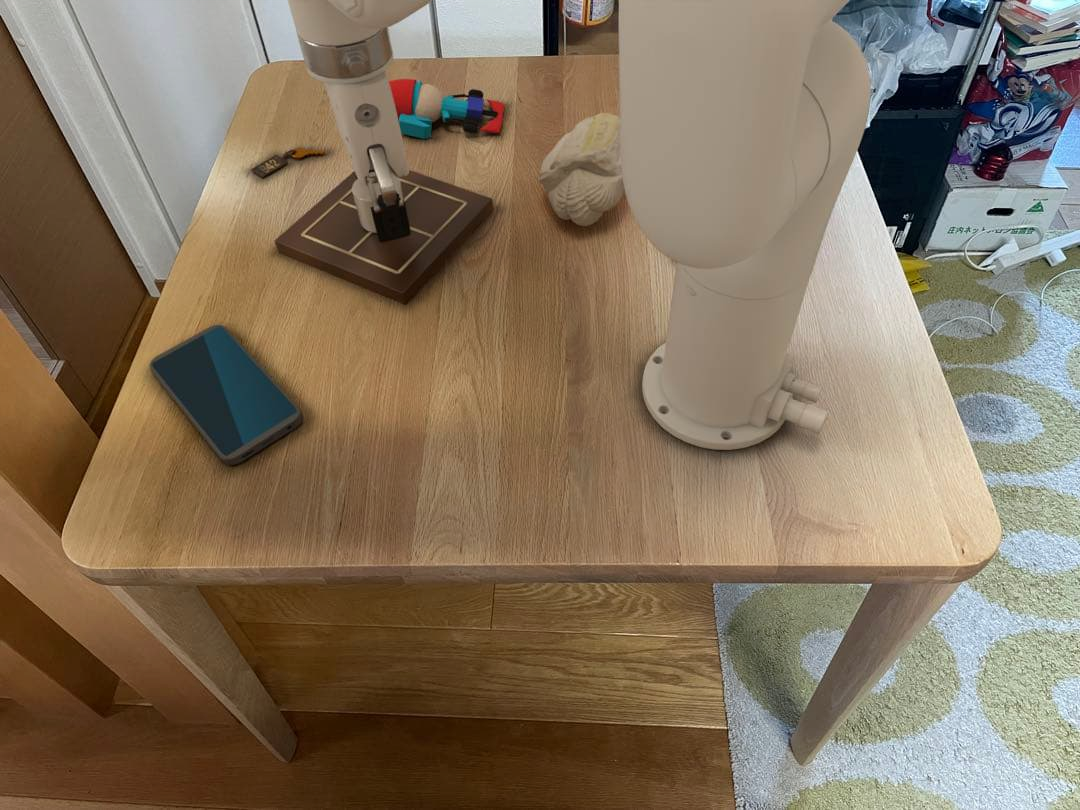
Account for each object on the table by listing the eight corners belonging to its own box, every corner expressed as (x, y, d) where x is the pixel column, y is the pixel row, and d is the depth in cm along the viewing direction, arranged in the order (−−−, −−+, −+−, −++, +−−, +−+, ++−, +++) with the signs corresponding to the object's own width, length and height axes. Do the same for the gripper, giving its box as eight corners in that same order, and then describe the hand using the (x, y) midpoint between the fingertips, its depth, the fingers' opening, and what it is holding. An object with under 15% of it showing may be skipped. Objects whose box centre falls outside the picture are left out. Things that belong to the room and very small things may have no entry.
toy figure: (503, 113, 101) (380, 95, 99) (507, 78, 97) (379, 58, 95) (498, 154, 96) (370, 135, 95) (502, 119, 92) (368, 99, 91)
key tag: (258, 179, 91) (256, 175, 91) (248, 166, 93) (246, 162, 92) (325, 153, 94) (324, 148, 93) (314, 141, 95) (313, 136, 95)
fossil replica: (546, 243, 84) (641, 237, 85) (552, 178, 77) (656, 173, 78) (529, 164, 90) (618, 160, 92) (533, 98, 83) (629, 95, 85)
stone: (416, 211, 85) (410, 179, 81) (388, 239, 82) (381, 206, 79) (378, 198, 86) (371, 165, 83) (350, 224, 84) (341, 192, 80)
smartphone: (228, 470, 67) (225, 464, 66) (148, 368, 74) (143, 361, 73) (308, 420, 70) (305, 413, 69) (223, 326, 77) (220, 319, 76)
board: (493, 209, 87) (492, 197, 86) (405, 304, 78) (402, 292, 77) (373, 167, 92) (370, 155, 91) (278, 252, 84) (273, 239, 83)
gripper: (414, 86, 65) (442, 251, 79) (367, -8, 75) (399, 153, 89) (321, 107, 64) (365, 272, 77) (286, 8, 74) (330, 169, 87)
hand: (383, 208), depth 83 cm, fingers open, 9 cm apart
